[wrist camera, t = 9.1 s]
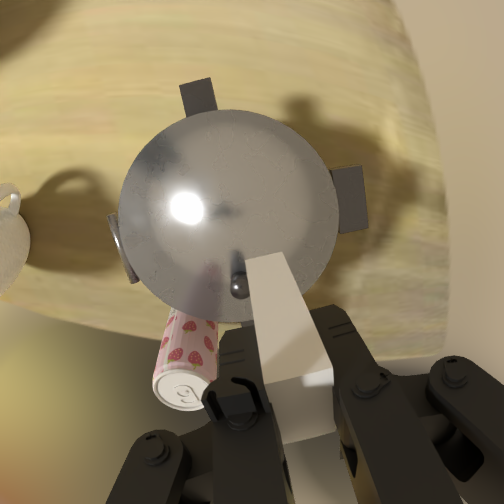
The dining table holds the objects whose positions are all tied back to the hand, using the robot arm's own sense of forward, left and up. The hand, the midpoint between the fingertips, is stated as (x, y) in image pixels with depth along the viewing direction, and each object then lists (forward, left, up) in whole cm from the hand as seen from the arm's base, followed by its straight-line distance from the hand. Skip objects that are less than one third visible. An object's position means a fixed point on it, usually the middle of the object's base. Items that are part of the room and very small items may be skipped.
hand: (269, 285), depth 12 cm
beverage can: (+12, -9, -22) cm, 27 cm away
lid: (0, -1, -12) cm, 12 cm away
